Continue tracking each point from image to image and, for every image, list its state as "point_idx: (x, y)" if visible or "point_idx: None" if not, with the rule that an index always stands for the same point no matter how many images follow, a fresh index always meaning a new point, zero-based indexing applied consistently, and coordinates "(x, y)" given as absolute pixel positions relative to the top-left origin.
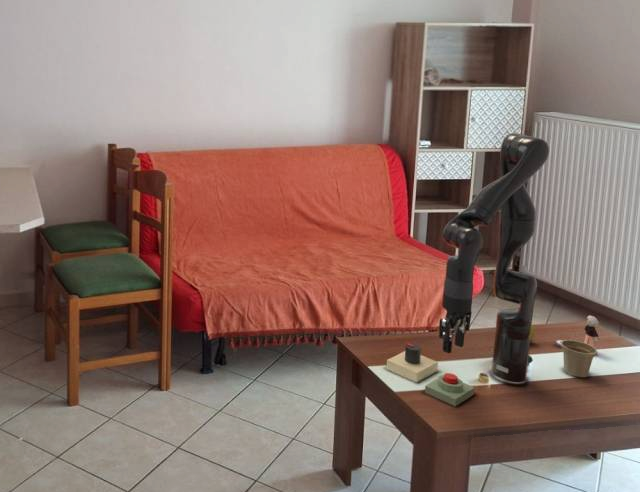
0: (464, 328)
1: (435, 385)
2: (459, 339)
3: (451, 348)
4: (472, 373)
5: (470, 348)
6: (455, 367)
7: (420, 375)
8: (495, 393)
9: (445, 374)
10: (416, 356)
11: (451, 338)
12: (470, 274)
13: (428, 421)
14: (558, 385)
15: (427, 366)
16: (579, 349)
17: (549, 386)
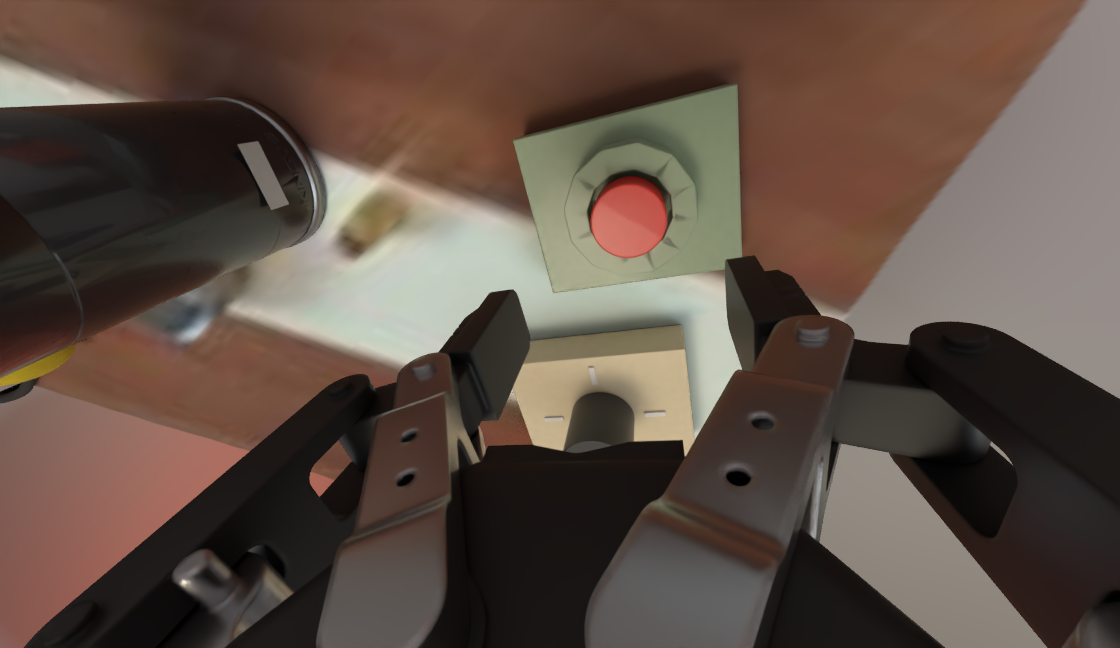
0: (446, 401)
1: (691, 245)
2: (501, 346)
3: (740, 275)
4: (389, 270)
5: (277, 381)
6: (422, 328)
7: (651, 340)
8: (411, 97)
9: (640, 249)
10: (613, 420)
11: (822, 340)
12: None
13: (1071, 11)
14: (61, 20)
15: (582, 363)
16: None
17: (109, 32)
